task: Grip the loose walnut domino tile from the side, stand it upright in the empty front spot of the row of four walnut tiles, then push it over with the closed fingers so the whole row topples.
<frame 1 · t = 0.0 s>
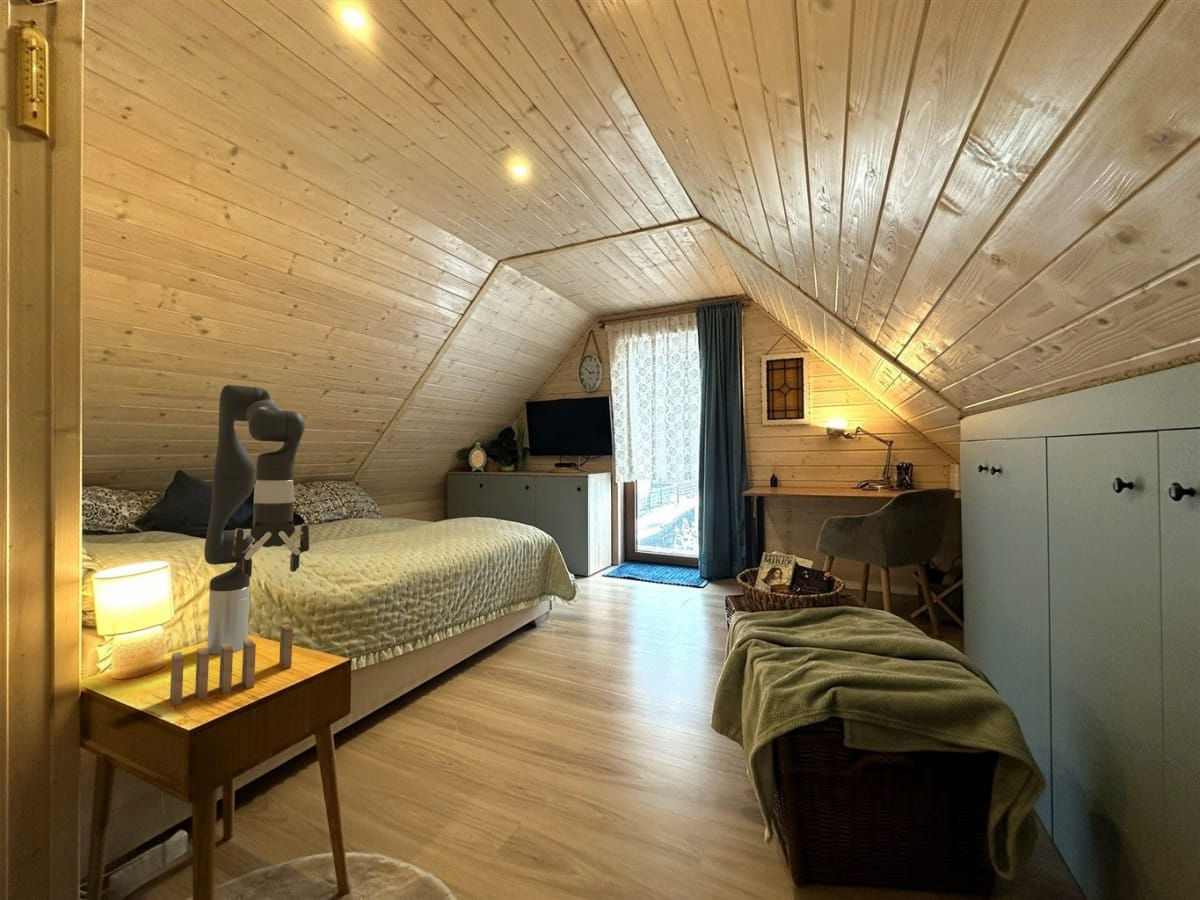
hand: (271, 573, 116), 29 cm above the nightstand, tool pointing down, fingers open, 8 cm apart
tile 5: (175, 701, 117), on the nightstand
wooden domino 4: (201, 695, 120), on the nightstand
tile 3: (225, 689, 123), on the nightstand
loose tile: (285, 665, 138), on the nightstand
tile 2: (247, 684, 126), on the nightstand
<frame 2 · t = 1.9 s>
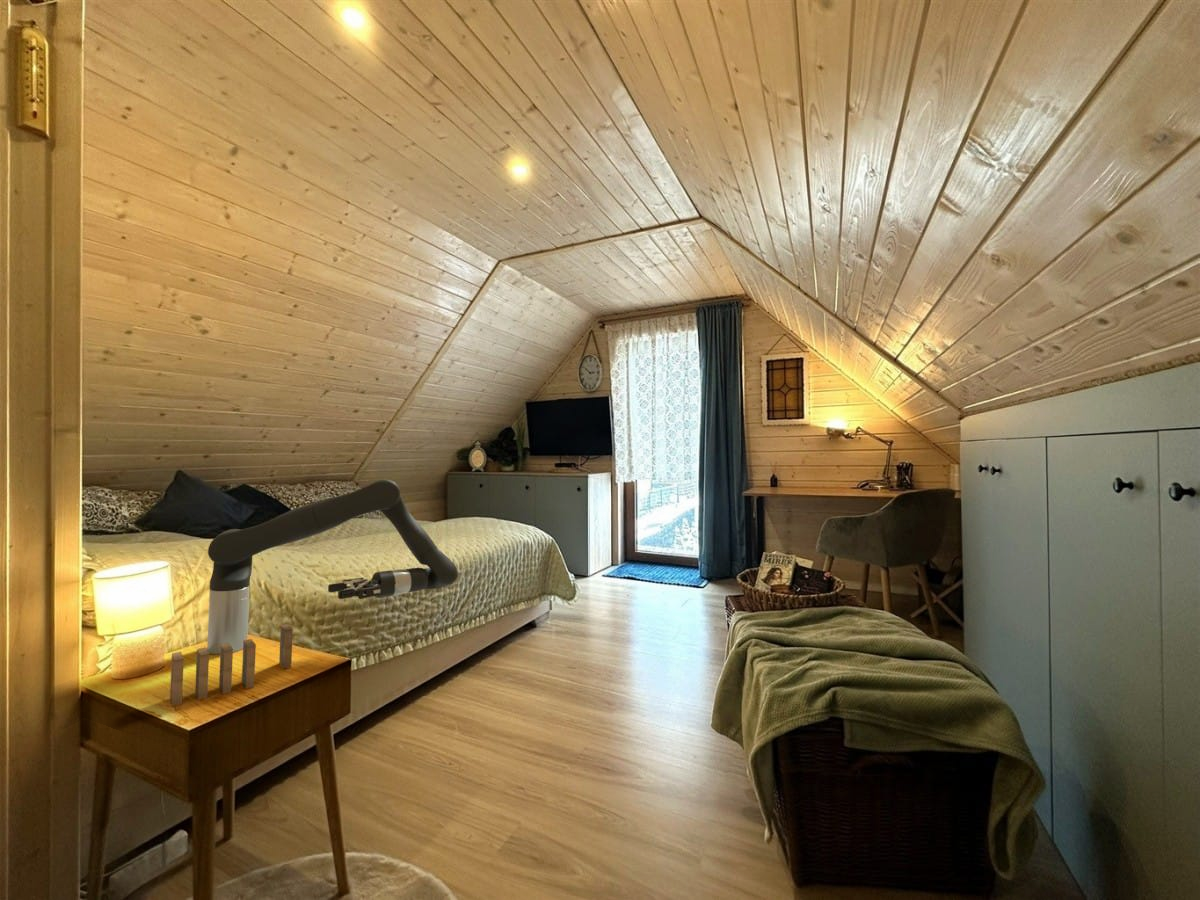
hand: (333, 591, 146), 17 cm above the nightstand, tool horizontal, fingers open, 8 cm apart
nothing on the nightstand moved.
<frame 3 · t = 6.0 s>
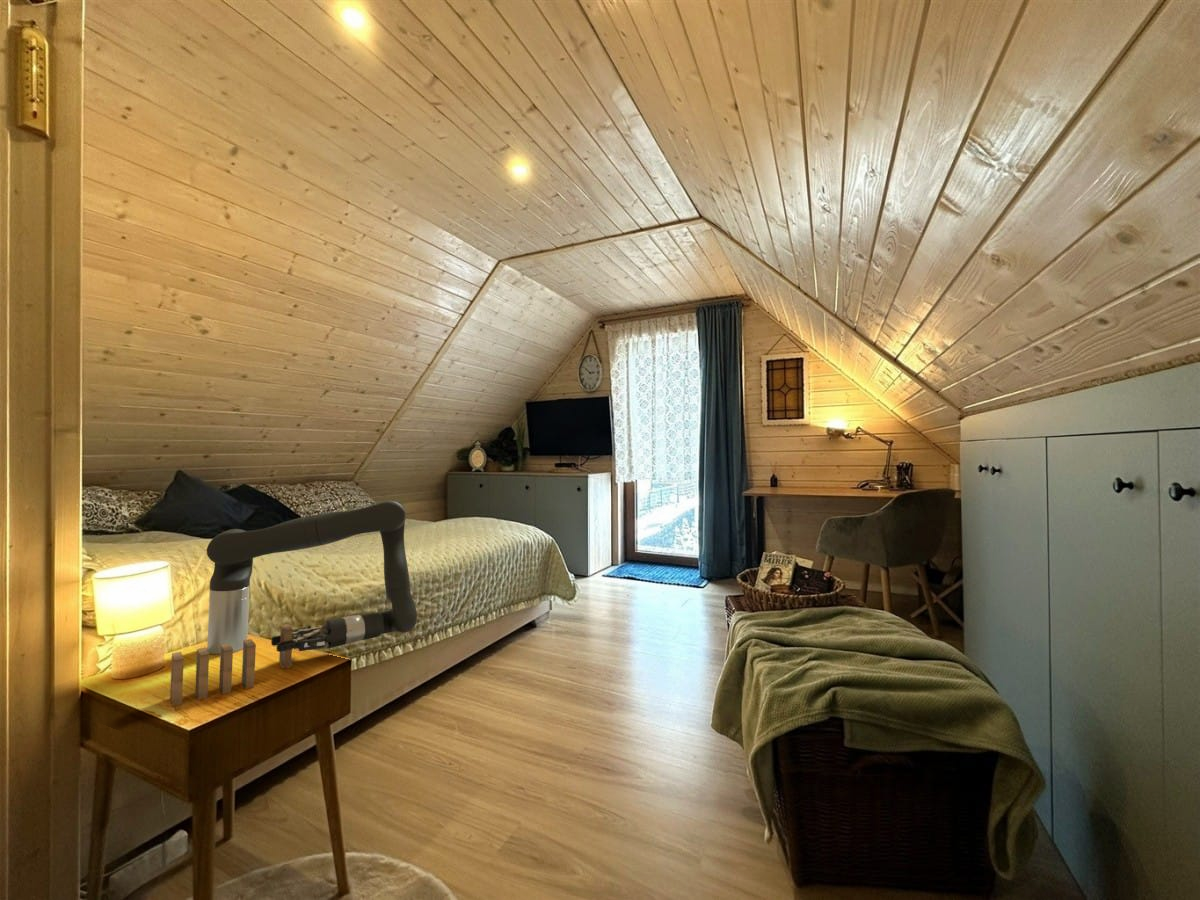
hand: (274, 644, 136), 6 cm above the nightstand, tool horizontal, fingers closed on loose tile, 5 cm apart
loose tile: (285, 665, 138), on the nightstand, touching gripper
everything else where it was.
when the fingers open (7 cm above the nightstand, at t = 11.4 s): loose tile stays where it is, on the nightstand.
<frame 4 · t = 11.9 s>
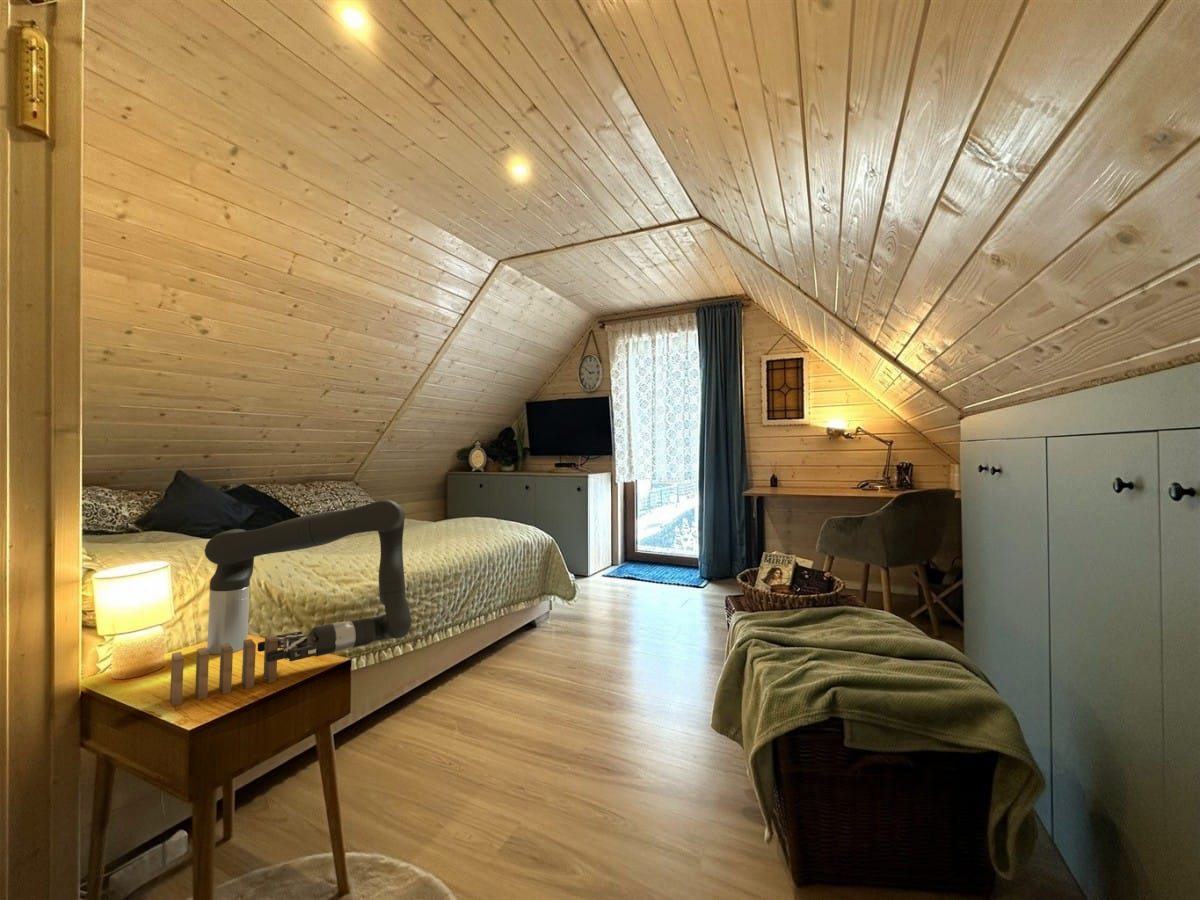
hand: (261, 652, 128), 7 cm above the nightstand, tool horizontal, fingers open, 8 cm apart
loose tile: (269, 679, 129), on the nightstand
everything else where it was.
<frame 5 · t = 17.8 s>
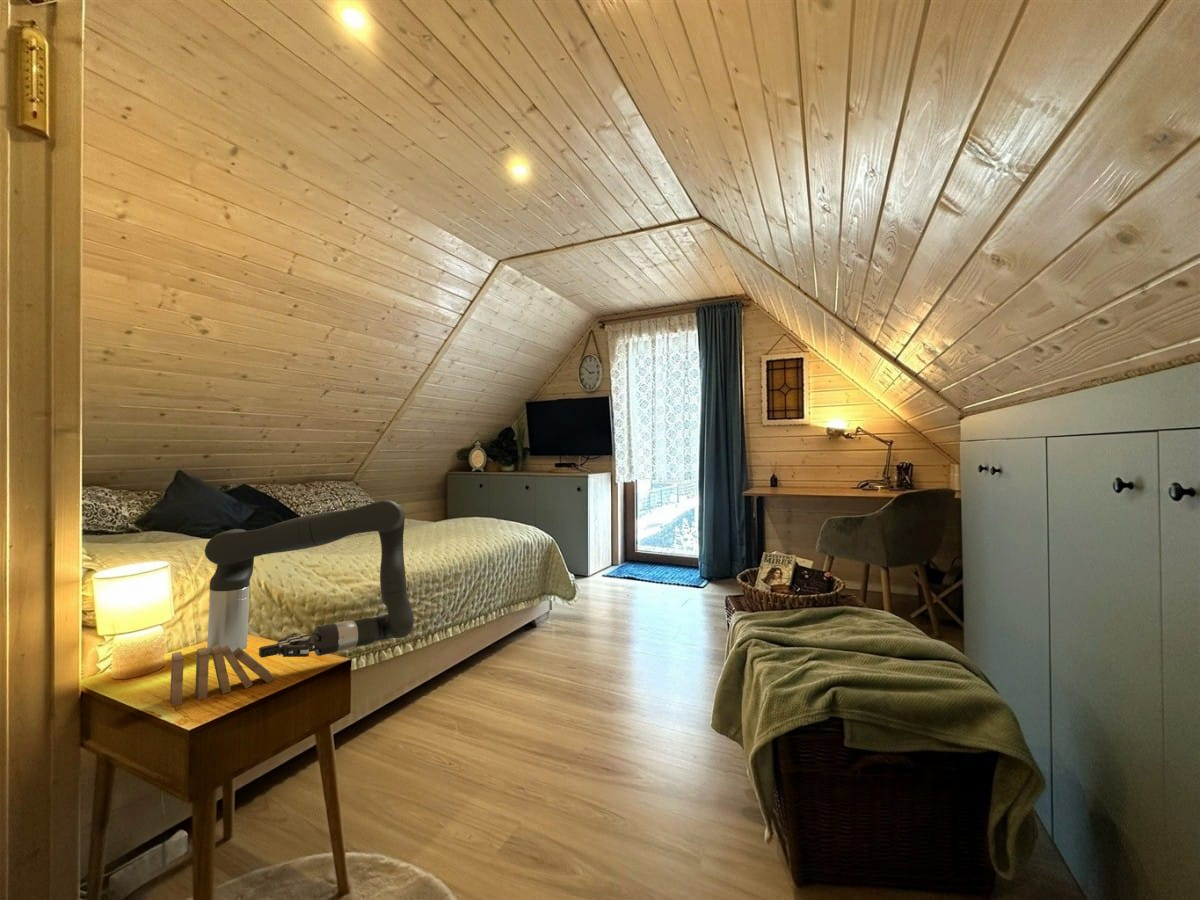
hand: (259, 652, 128), 7 cm above the nightstand, tool horizontal, fingers closed
tile 3: (225, 689, 123), on the nightstand, tilted 12°
loose tile: (268, 677, 129), point 1 cm above the nightstand, tilted 41°, touching tile 2
tile 2: (247, 682, 126), on the nightstand, tilted 27°, touching loose tile
everything else where it was.
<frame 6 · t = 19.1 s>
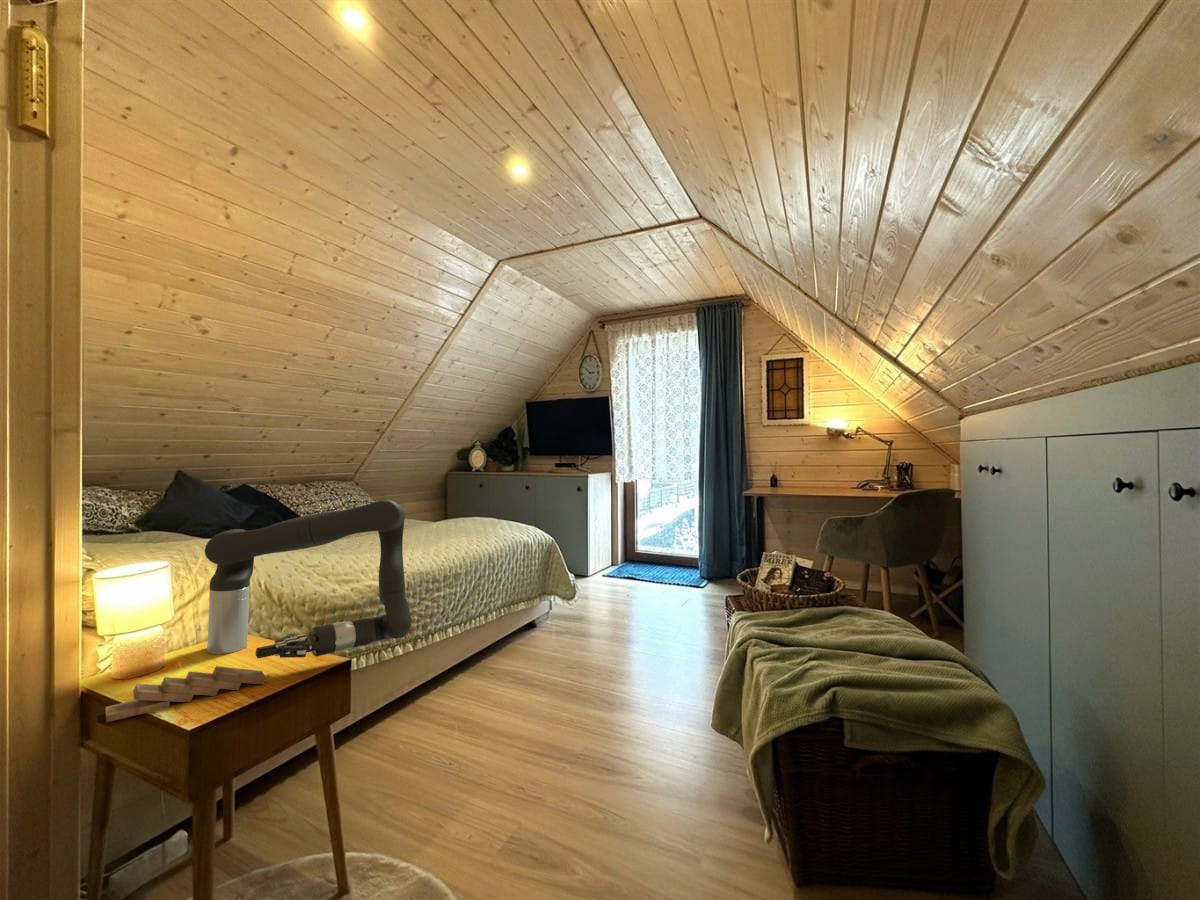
hand: (256, 653, 127), 7 cm above the nightstand, tool horizontal, fingers closed
tile 5: (168, 700, 116), on the nightstand, tilted 90°, touching wooden domino 4
wooden domino 4: (190, 694, 119), point 1 cm above the nightstand, tilted 71°, touching tile 3, tile 5
tile 3: (215, 688, 122), point 1 cm above the nightstand, tilted 69°, touching tile 2, wooden domino 4
loose tile: (262, 677, 128), point 1 cm above the nightstand, tilted 70°, touching tile 2
tile 2: (237, 683, 125), point 1 cm above the nightstand, tilted 69°, touching loose tile, tile 3
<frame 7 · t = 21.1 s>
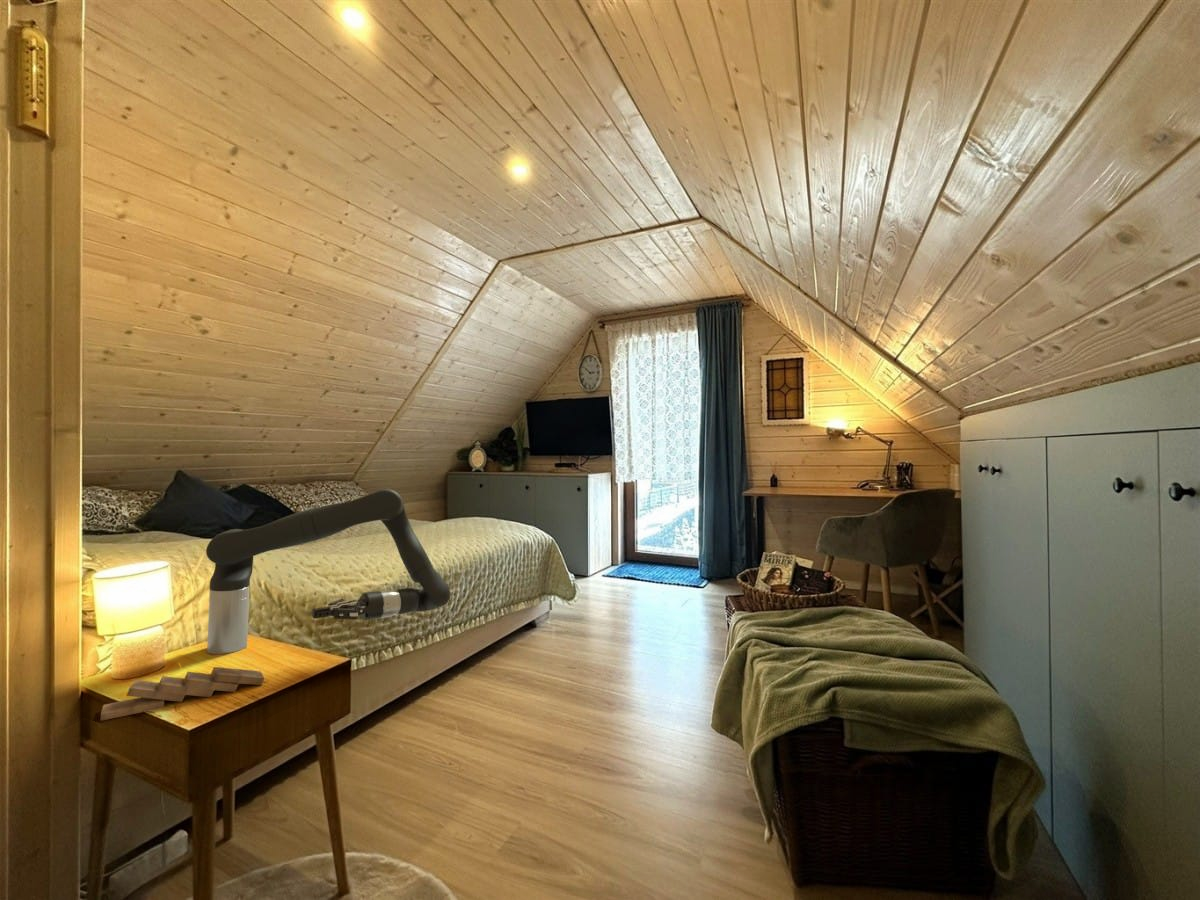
hand: (312, 613, 137), 14 cm above the nightstand, tool horizontal, fingers closed
wooden domino 4: (185, 694, 119), point 1 cm above the nightstand, tilted 71°, touching tile 3, tile 5
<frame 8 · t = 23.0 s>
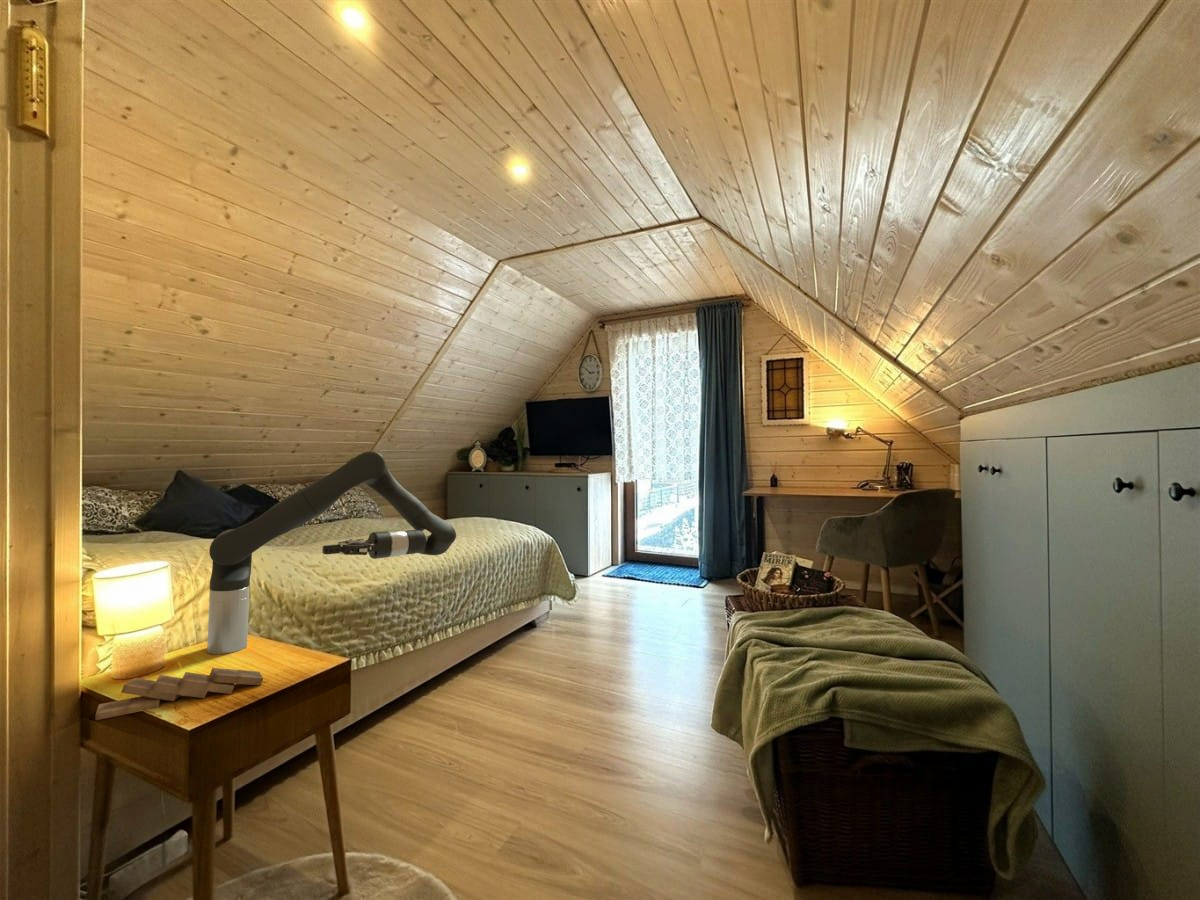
hand: (323, 550, 140), 30 cm above the nightstand, tool horizontal, fingers closed
wooden domino 4: (180, 693, 118), point 1 cm above the nightstand, tilted 73°, touching tile 3, tile 5
tile 3: (207, 690, 121), point 1 cm above the nightstand, tilted 69°, touching tile 2, wooden domino 4
tile 2: (232, 686, 123), point 1 cm above the nightstand, tilted 69°, touching loose tile, tile 3
at the end: loose tile inside the target area (0.1 cm from its centre), point 0.7 cm above the nightstand; loose tile tilted 71°; tile 5 tilted 90° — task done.
